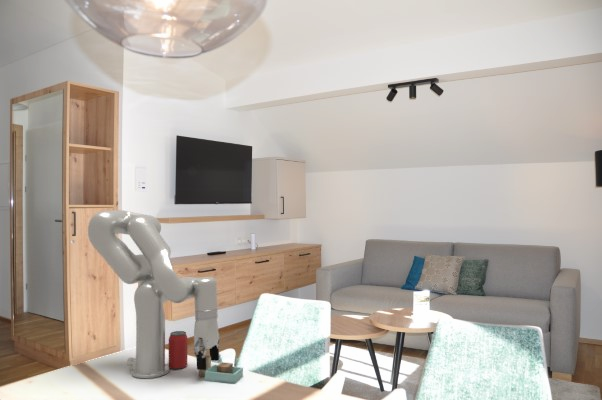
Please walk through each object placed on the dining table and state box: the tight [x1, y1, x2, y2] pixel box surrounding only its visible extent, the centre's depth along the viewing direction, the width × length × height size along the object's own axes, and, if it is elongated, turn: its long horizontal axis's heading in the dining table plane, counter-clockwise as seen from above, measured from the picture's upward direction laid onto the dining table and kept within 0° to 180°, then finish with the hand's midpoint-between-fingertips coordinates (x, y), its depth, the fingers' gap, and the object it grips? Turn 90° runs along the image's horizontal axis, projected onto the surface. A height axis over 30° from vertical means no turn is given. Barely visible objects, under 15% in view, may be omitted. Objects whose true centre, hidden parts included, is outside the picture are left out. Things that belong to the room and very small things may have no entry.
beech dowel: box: [198, 354, 212, 378], centre depth 166 cm, size 4×4×6 cm
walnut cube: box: [216, 361, 234, 374], centre depth 162 cm, size 4×4×4 cm
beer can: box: [168, 330, 189, 370], centre depth 174 cm, size 7×7×12 cm
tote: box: [204, 364, 244, 385], centre depth 162 cm, size 10×7×3 cm, turn 75°
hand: (208, 364), depth 165 cm, fingers open, 9 cm apart
